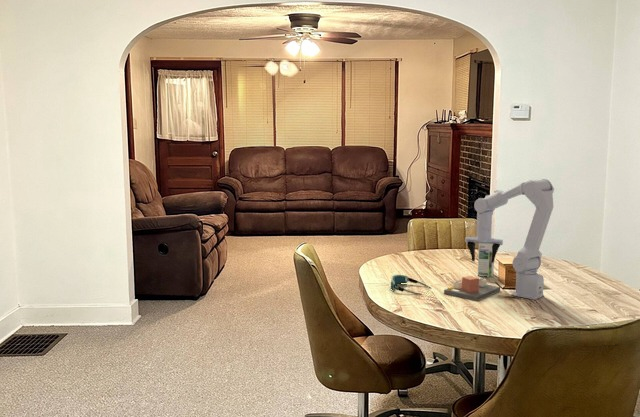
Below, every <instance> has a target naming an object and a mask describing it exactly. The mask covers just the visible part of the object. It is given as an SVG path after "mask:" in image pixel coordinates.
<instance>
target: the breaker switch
mask: <svg viewBox="0 0 640 417" xmlns="http://www.w3.org/2000/svg"><path fill="white" fill-rule="evenodd" d="M487 280H488V279H486V277H481V278H479V286H481V287H484V286H486V285H488V284H487V283H488V282H487Z"/></svg>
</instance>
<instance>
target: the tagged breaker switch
mask: <svg viewBox="0 0 640 417" xmlns="http://www.w3.org/2000/svg"><path fill="white" fill-rule="evenodd" d="M452 283H453V285H452V287H453V288H456V289H460V288H462V279H459V280H455V281H453V282H452Z"/></svg>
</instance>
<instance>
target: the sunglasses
mask: <svg viewBox="0 0 640 417" xmlns="http://www.w3.org/2000/svg"><path fill="white" fill-rule="evenodd" d="M390 281H391V282H390V290H391V289H392V290H393V291H392V290H391V291H392V292H395V290H397V291H399V292H406V293H409V294H414V295H417V294H420V295H421V293H420V292H415V291H412V290H409V289H406V288H404V287H401V286H400V285H397V284H401V283H407V284H408V282H409V283H413V284H420V285H422V286H424V287H425V288H427V287H429V288H428V289H431V287H430V286H429V285H427V284H426V283H424V282H422V281H419V280H417V279H414V278H412V277H409V276H407V275H404V274H394V275H392V276H391V280H390Z"/></svg>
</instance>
